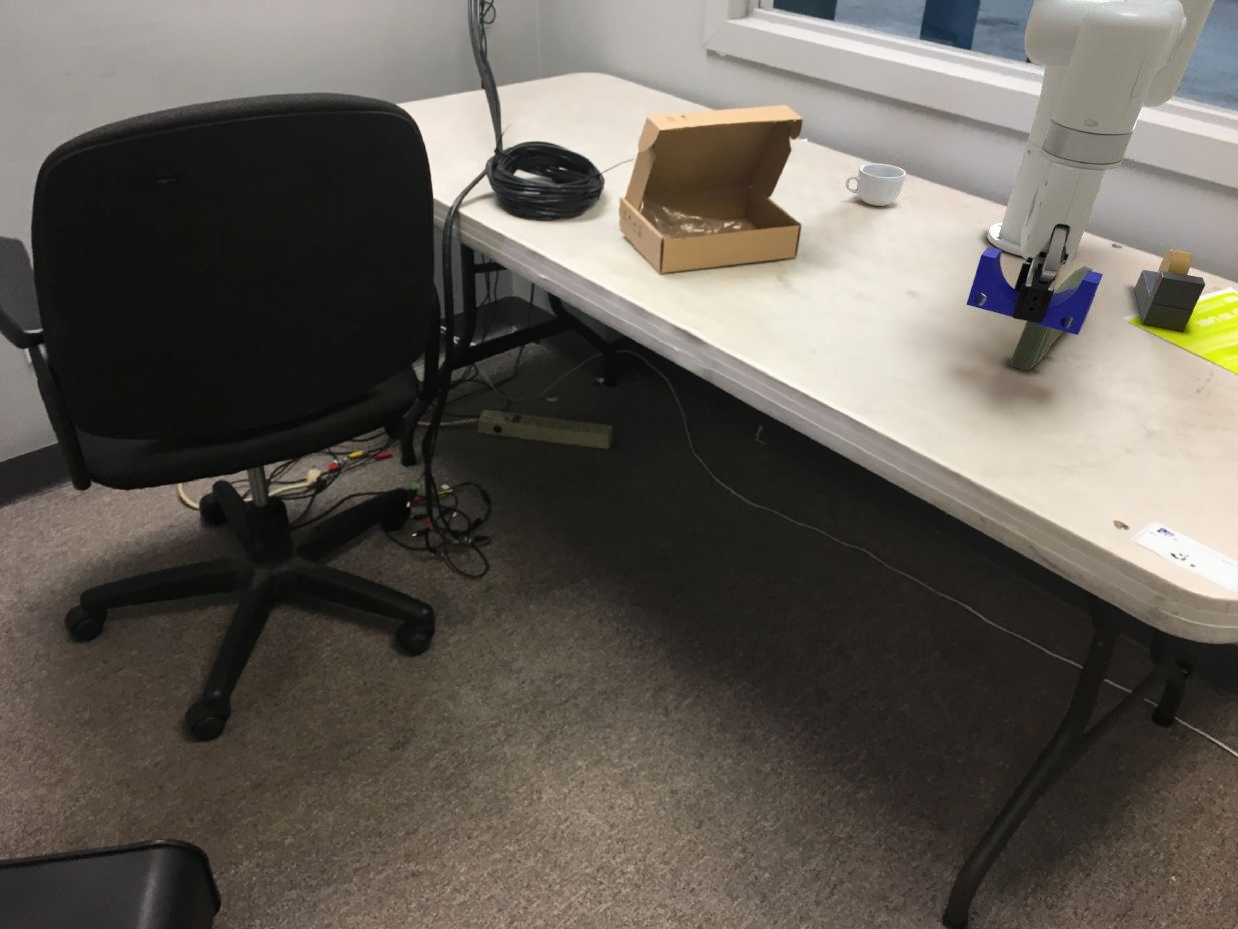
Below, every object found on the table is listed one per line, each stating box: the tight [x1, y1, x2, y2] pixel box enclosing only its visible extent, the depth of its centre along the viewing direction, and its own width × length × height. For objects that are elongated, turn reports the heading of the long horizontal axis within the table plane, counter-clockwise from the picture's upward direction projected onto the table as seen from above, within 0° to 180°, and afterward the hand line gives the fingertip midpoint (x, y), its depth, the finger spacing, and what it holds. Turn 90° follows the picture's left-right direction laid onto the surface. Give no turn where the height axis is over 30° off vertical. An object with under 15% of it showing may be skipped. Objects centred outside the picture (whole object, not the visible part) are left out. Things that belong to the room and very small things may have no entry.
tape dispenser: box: [1134, 249, 1206, 332], centre depth 118 cm, size 12×5×8 cm, turn 159°
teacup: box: [845, 162, 907, 207], centre depth 149 cm, size 10×8×5 cm
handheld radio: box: [1010, 265, 1094, 371], centre depth 111 cm, size 7×3×25 cm
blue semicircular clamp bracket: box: [966, 245, 1104, 336], centre depth 96 cm, size 12×4×6 cm, turn 57°
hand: (1027, 307), depth 97 cm, fingers closed on blue semicircular clamp bracket, 4 cm apart
